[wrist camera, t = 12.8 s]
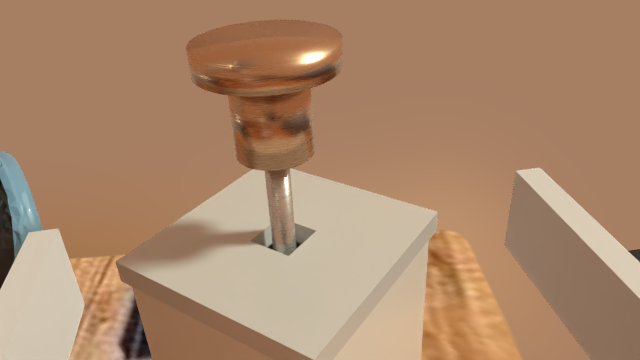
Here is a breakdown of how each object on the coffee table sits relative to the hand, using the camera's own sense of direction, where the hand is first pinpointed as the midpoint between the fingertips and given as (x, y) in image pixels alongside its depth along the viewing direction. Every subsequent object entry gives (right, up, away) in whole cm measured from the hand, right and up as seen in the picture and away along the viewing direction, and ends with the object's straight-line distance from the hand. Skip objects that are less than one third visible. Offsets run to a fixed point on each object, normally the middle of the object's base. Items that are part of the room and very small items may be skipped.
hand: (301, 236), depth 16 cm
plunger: (-1, -12, +18) cm, 22 cm away
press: (+1, -17, +23) cm, 28 cm away
